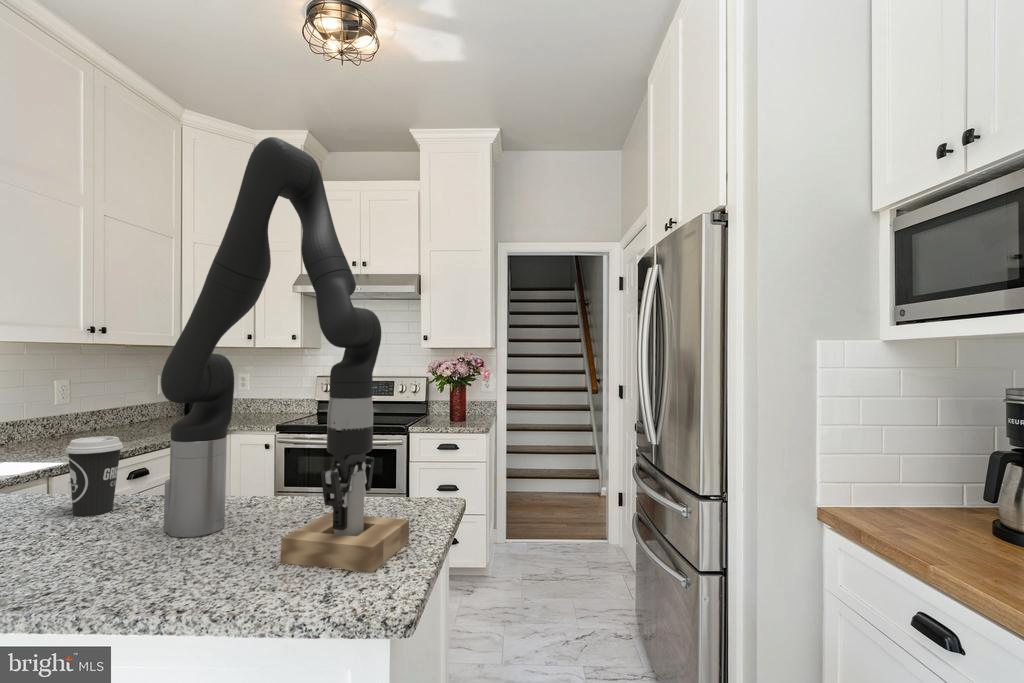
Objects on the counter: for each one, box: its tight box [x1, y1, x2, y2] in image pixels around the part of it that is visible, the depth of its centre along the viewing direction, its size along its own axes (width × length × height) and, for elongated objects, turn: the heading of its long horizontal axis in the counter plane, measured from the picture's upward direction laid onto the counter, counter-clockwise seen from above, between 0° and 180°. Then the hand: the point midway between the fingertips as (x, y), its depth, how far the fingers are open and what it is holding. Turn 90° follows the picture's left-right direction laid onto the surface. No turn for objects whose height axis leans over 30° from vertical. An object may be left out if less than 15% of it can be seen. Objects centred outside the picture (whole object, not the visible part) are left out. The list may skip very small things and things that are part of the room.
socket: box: [280, 512, 410, 574], centre depth 92 cm, size 16×14×4 cm
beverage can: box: [334, 469, 365, 536], centre depth 92 cm, size 5×5×12 cm
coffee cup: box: [64, 435, 124, 518], centre depth 112 cm, size 10×10×15 cm
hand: (348, 523), depth 92 cm, fingers closed on beverage can, 5 cm apart
